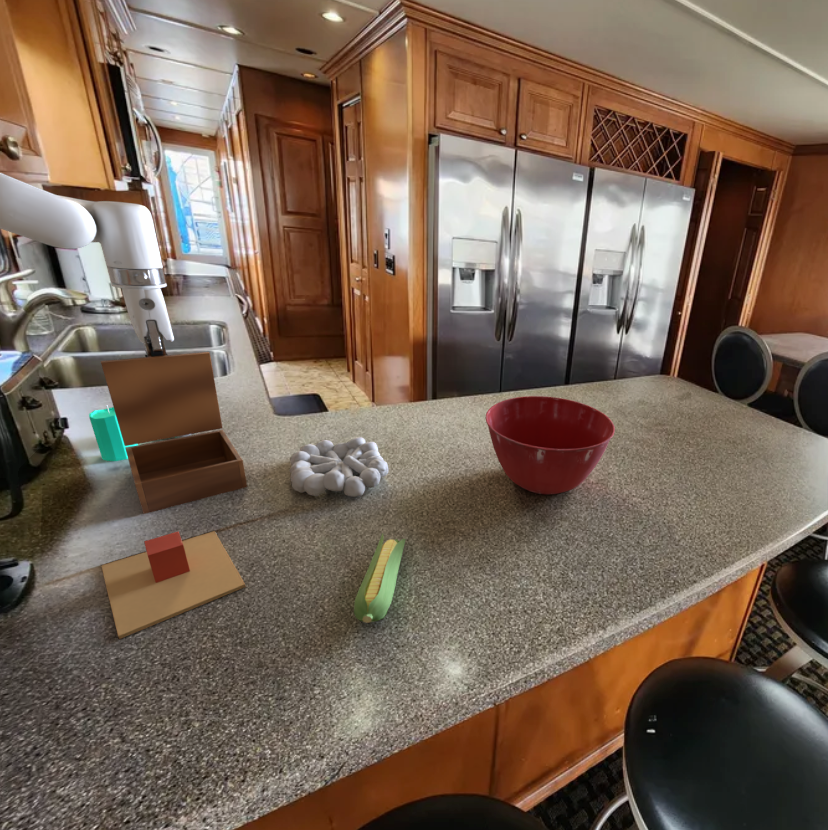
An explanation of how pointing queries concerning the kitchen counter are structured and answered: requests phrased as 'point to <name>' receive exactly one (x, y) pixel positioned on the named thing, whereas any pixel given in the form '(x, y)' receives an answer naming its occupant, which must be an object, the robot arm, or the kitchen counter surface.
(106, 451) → the candle
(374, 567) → the edible corn
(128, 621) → the mat
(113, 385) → the lid
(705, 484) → the kitchen counter surface
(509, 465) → the mixing bowl
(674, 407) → the kitchen counter surface
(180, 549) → the block
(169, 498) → the open wooden box
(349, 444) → the campfire
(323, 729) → the kitchen counter surface
